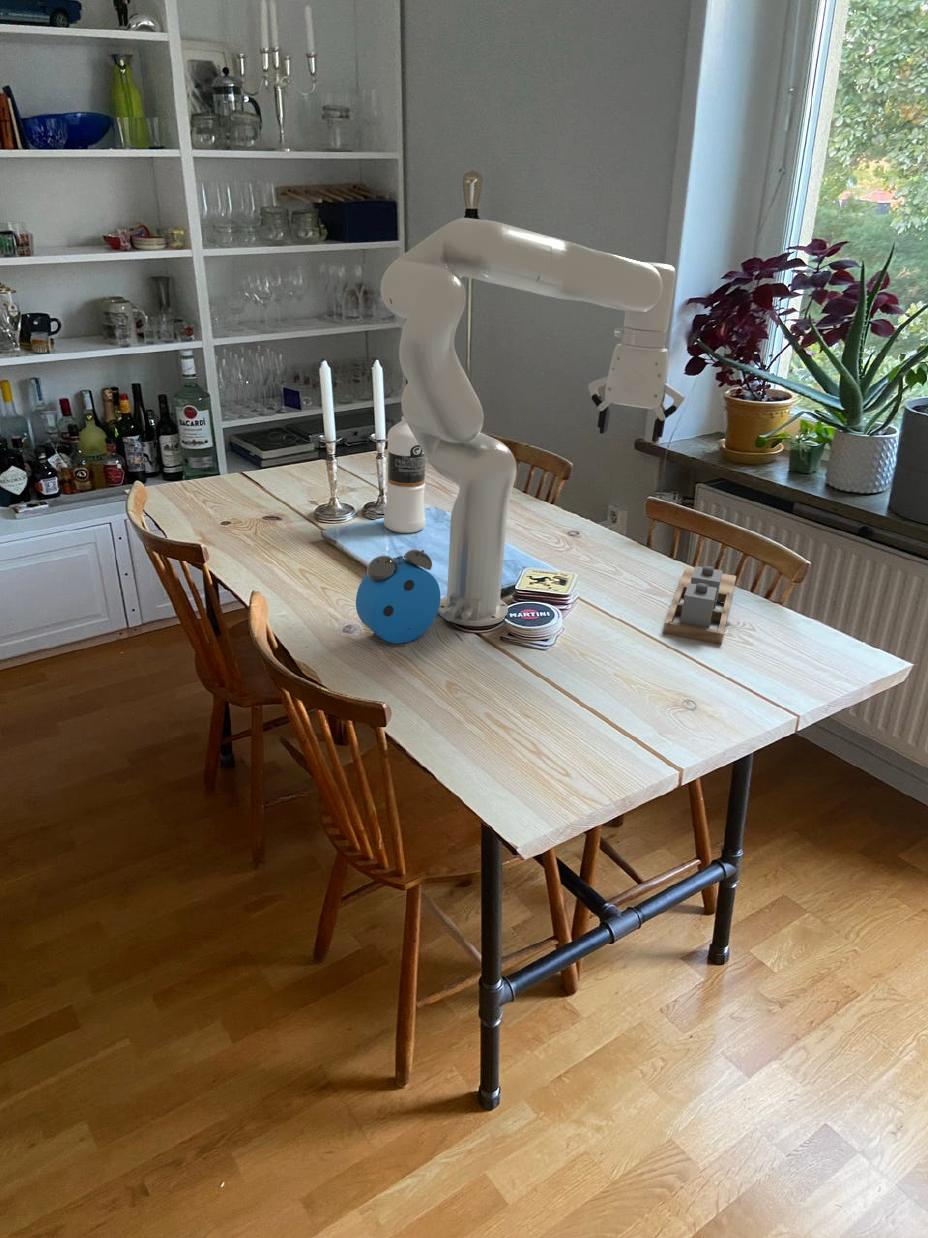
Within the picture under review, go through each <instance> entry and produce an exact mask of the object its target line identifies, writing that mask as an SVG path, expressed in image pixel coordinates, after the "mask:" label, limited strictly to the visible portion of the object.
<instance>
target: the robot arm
mask: <svg viewBox="0 0 928 1238" xmlns="http://www.w3.org/2000/svg"><path fill="white" fill-rule="evenodd" d="M676 272H677V271H676V269H675V267H674V266H672V265H671V264H667V263H663V262H662V263H659V262H652V261H651V262H650V261H649V262H648V261H647V262H646V261H643V262H642V261H638V260H634V259H630V258H626V257H624V256H619V255H617V254H612V253H608V252H604V251H601V250H596V249H594V248H590V247H587V246H584V245H581V244H578V243H574V242H571V241H567V240H564V239H560V238H557V237H552V236H550V235H545V234H542V233H539V232H534V231H532V230H527V229H524V228H521V227H517V226H514V225H510V224H507V223H502V222H499V221H494V220H490V219H478V218H470V217H460V218H457V219H455V220H452V221H450V222H448V223H447V224H445V225H443V226H442V227H439V229H437V230H436V231H434V232H433V233H432V234H430V235H429V236H427V237H426V238H425V239H423V240H422V241H420V242H419V243H418V244H417V245H415V246H414V247H412V248H410V249H409V250H408V251H407V252H405V253H404V254H402V255H401V256H399V257H397V259H395V260H394V261H393V262H391V264H390V265H389V266H388V267H387V268H386V270H385V272H384V274H383V276H382V278H381V282H380V294H381V298H382V302H383V304H384V305H385V307H386V308H387V309H388V310H389V311H390V312H391V313H393V314H394V315H396V316H398V317H401V318H403V319H405V322H404V325H403V328H402V329H403V330H402V331H401V336H400V342H399V350H398V351H399V352H398V354H399V355H398V356H399V365H400V367H401V370H402V372H403V375H404V377H405V379H406V381H407V384H406V385H405V387H404V389H403V390H404V391H403V390H402V394H401V412H402V411H403V415H404V418H405V420H406V422H407V424H408V426H409V428H410V430H411V432H412V433H413V435H414V437H415V439H416V440H417V442H418V444H419V446H420V447H421V449H422V451H423V452H424V454H425V456H426V460H427V461H428V463H429V464H430V465H431V467H432V468H433V469H434V470H435V471H436V472H437V474H439V475H441V476H442V477H443V478H445V479H447V480H449V481H450V482H451V483H454V484H455V485H456V486H458V487H459V488H458V489H459V490H458V494H457V496H456V498H455V500H454V502H453V503H454V504H453V505H452V510H451V514H450V525H449V529H450V531H449V533H450V534H449V547H448V548H449V550H448V551H449V552H448V565H447V566H448V568H447V584H446V585H447V586H446V587H447V589H446V595H445V596H443V597H441V598H440V606H439V610H438V613H437V614H439V615H440V617H442V618H443V619H445V621H448V622H451V623H454V624H457V625H460V626H465V627H466V626H467V627H487V626H493V625H495V624H499V623H501V622H502V621H504V620H503V618H504V617H505V616H506V615H507V616H508V614H507V613H509V607H508V604H507V603H506V602H505V601H504V600H503V599H501V592H502V581H503V579H502V578H503V571H504V570H503V568H504V557H505V556H504V555H505V554H504V553H505V543H506V532H507V531H506V529H507V520H508V519H507V518H508V511H509V510H508V509H509V505H510V504H509V503H510V499H511V495H512V492H513V488H514V485H515V484H514V483H515V481H516V477H517V462H516V458H515V456H514V454H513V452H512V451H511V450H510V448H509V447H508V446H507V445H505V444H504V442H501V441H500V440H498V439H496V438H494V437H491V436H490V435H487V434H486V433H483V432H481V431H482V428H483V426H484V419H485V418H484V417H485V416H484V411H483V407H482V404H481V402H480V399H479V396H478V395H477V393H476V392H475V390H474V388H473V386H472V384H471V382H470V380H469V378H468V376H467V374H466V372H465V370H464V368H463V366H462V364H461V362H460V359H459V356H458V355H457V352H456V349H455V348H456V347H455V337H456V331H457V328H458V325H459V323H460V320H461V318H462V315H463V312H464V311H465V307H466V306H465V305H466V301H467V300H466V299H467V297H466V287H465V285H464V282H463V280H462V278H463V277H465V278H468V279H475V280H479V281H482V282H485V283H490V284H495V285H499V286H501V287H502V286H503V287H507V288H512V289H516V290H521V291H525V292H528V293H533V294H536V295H540V296H541V295H542V296H544V297H545V296H546V297H551V298H555V299H558V300H559V299H561V300H569V301H579V302H586V303H591V304H596V305H597V306H601V307H605V308H609V309H614V310H620V311H624V313H625V314H624V318H623V319H624V321H623V326H622V327H620V328H614V333H613V336H614V337H615V338H616V337H617V338H619V340H620V343H618V344H616V345H615V347H614V350H613V352H612V358H611V360H610V363H609V368H608V369H609V370H608V374H607V376H605V377H601V378H599V379H597V380H594V381H592V382H590V383H588V384H587V388H588V391H589V393H590V396H591V400H592V401H593V403H594V404H595V406H596V407H597V411H599V413H598V420H597V421H598V422H597V428H599V434H601V435H603V434H605V433H606V432H607V431H608V429H609V428H608V427H609V421H610V414H611V410H610V409H609V406H611V404H615V405H621V406H626V407H633V408H640V409H641V408H642V409H647V410H648V409H651V410H653V411H654V413H655V415H656V416H657V418H656V419H655V420H654V423H653V424H654V425H653V431H652V438H651V442H653V443H657V442H658V441H659V439H660V438H662V437H663V435H664V430H665V423H666V419H668V418H669V417H670V416H672V415H673V414H674V413H675V412H676V411H677V410H678V409H679V408H680V407H681V405H682V404H683V402H684V401H685V399H686V397H685V395H684V394H683V393H681V392H679V391H678V390H677V389H675V388H674V387H673V386H671V385H670V384H668V371H669V352H668V351H669V350H668V349H667V348H665V346H666V341H667V340H666V339H667V333H668V330H669V328H668V327H669V321H670V316H671V309H672V303H673V298H674V297H673V296H674V290H675V284H676V277H677V273H676ZM604 386H605V389H604V399H603V397H602V395H601V394H600V393H599V388H601V387H604ZM666 395H668V396H669V397H670V398H672V399H673V402H672V404H671V405H670V406H669V407H668V408H666V407H665V406H664V404H663V403H664V401H665V397H666Z"/></svg>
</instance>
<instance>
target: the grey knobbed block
mask: <svg viewBox="0 0 928 1238" xmlns="http://www.w3.org/2000/svg"><path fill="white" fill-rule="evenodd" d="M723 571H724V570H721V569H717V568H714V567H713V566H710V565H703V566H697V565H695V566H694V572H693V575H692V578H691V583H692V584H697V583H704V584H707V585H708V586H709V587H715V588H717V591H716V597H715V602H714V607H713V609H716V606H717V604H718V603H717V598H718V593H719V588H720V582H721V577H722V574H723Z"/></svg>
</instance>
